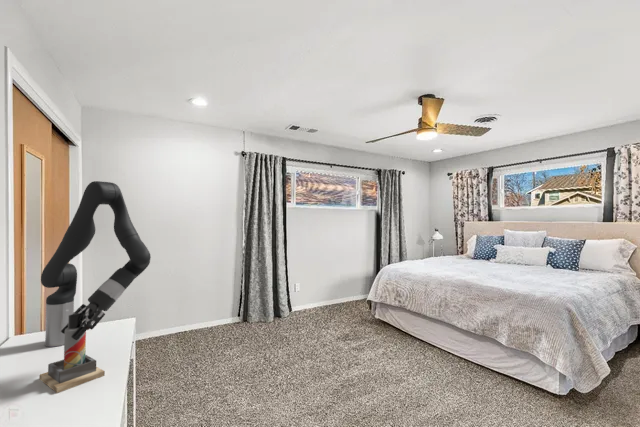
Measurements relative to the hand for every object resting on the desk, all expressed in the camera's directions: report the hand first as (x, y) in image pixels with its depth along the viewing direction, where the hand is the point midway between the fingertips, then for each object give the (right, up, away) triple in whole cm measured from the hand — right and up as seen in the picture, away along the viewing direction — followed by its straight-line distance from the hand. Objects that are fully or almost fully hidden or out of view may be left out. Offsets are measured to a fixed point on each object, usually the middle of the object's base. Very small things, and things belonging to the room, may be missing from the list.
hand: (68, 336), depth 106 cm
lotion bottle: (+1, -13, +1) cm, 13 cm away
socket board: (+1, -14, +1) cm, 14 cm away
